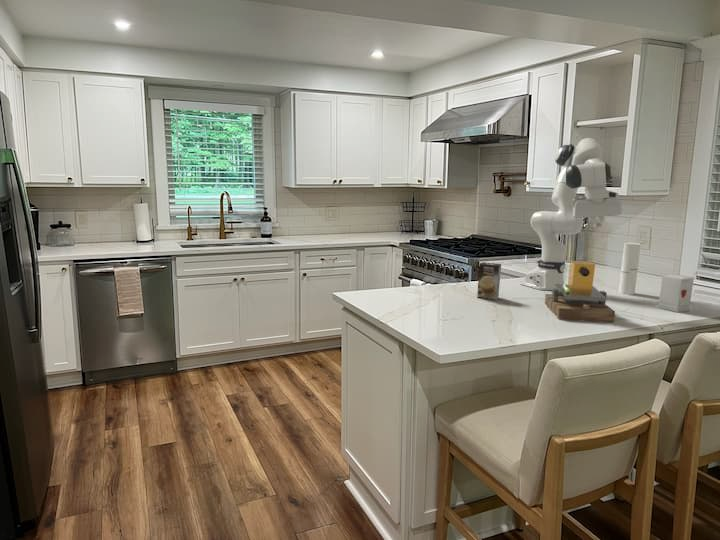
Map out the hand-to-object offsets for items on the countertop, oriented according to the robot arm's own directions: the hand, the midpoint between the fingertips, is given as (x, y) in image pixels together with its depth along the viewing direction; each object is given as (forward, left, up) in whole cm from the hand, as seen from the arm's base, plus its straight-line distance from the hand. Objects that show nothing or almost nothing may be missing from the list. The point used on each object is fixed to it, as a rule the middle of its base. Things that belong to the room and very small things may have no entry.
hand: (598, 227), depth 235 cm
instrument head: (+6, -21, -27) cm, 34 cm away
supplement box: (+27, +22, -35) cm, 49 cm away
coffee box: (-32, -32, -35) cm, 57 cm away
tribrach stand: (+6, -21, -35) cm, 41 cm away
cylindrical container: (-1, +37, -35) cm, 51 cm away
